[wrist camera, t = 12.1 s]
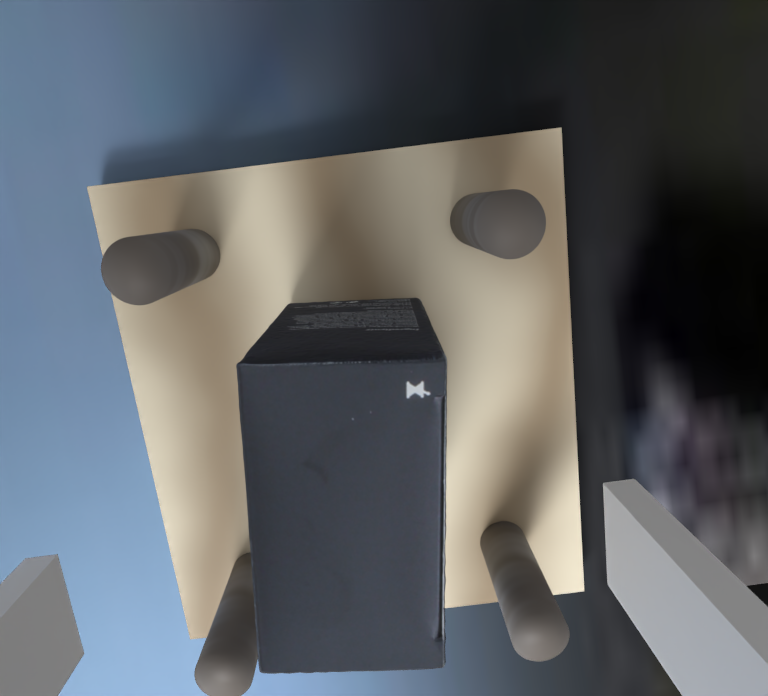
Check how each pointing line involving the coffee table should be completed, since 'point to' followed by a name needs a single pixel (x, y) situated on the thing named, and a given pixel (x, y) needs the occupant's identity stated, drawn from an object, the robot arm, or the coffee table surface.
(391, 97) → the coffee table surface
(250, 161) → the coffee table surface
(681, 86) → the coffee table surface
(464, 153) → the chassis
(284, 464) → the box
